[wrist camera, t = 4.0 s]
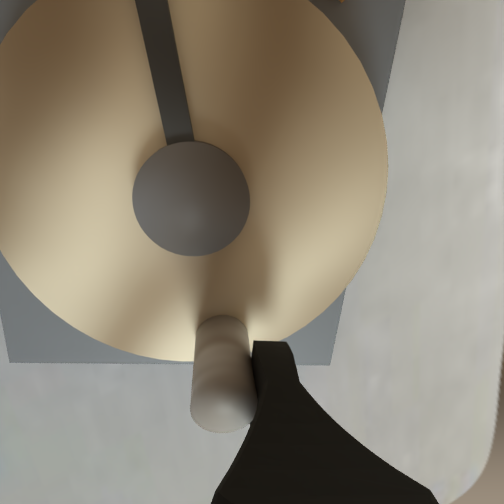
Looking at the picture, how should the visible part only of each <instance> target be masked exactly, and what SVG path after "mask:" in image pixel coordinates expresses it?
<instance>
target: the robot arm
mask: <svg viewBox="0 0 504 504" xmlns="http://www.w3.org/2000/svg"><path fill="white" fill-rule="evenodd" d="M251 360H252V368H253V376H254V382H255V387H256V393H257V398H258V404H257V410H256V413H255V415H254V418H253V420H252V421H251V422H250V428H249V430H248V433H247V435H246V437H245V440H244V442H243V444H242V446H241V448H240V450H239V452H238V453H237V455H236V457H235V459H234V461H233V463H232V465H231V467H230V468H229V470H228V472H227V473H226V475H225V476H224V478H223V480H222V481H221V483H220V484H219V486H218V488H217V489H216V491H215V494H214V496H213V499H212V502H211V504H439V503H438V502H437V500H436V498H435V497H434V495H433V494H432V492H431V491H430V490H429V489H428V488H426V487H424V486H423V485H421V484H420V483H418V482H416V481H415V480H413V479H411V478H410V477H408V476H407V475H405V474H403V473H402V472H400V471H398V470H397V469H395V468H394V467H392V466H391V465H389V464H388V463H387V462H385V461H384V460H382V459H381V458H380V457H378V456H377V455H375V454H374V453H373V452H371V451H370V450H369V449H367V448H366V447H365V446H363V445H362V444H361V443H360V442H358V441H357V440H356V439H355V438H354V437H352V436H351V435H350V434H349V433H348V432H346V431H345V430H344V429H343V428H342V427H341V426H340V425H339V424H338V423H336V422H335V421H334V420H333V419H332V418H331V417H330V416H329V415H328V414H327V413H326V412H325V411H324V410H323V409H322V408H321V407H320V405H319V404H318V403H317V402H316V401H315V400H314V399H313V397H312V396H311V395H310V394H309V393H308V392H307V390H306V389H305V388H304V387H303V385H302V384H301V383H300V382H299V377H298V373H297V368H296V364H295V359H294V355H293V352H292V350H291V348H290V346H289V345H288V343H287V342H285V341H258V340H253V348H252V356H251Z"/></svg>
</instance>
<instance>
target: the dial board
mask: <svg viewBox="0 0 504 504" xmlns="http://www.w3.org/2000/svg"><path fill="white" fill-rule="evenodd" d="M36 1H37V0H0V44H1V43H2V41H3V39H4V37H5V36H6V34H7V33H8V31H9V30H10V29H11V28H12V27H13V25H14V24H15V23H16V22H17V21H18V19H19V18H20V17H21V16H22V14H23V13H24V12H25V11H26V10H27V9H28V8H29V7H30V6H31V5H32V4H33V3H35V2H36ZM308 1H310V2H311V3H312V4H313V5H314V6H315V7H317V8H318V9H319V10H320V11H321V12H323V13H324V15H325V16H326V17H327V18H328V19H329V20H330V21H331V22H332V24H333V25H334V26H335V27H336V28H337V29H338V30H339V32H340V33H341V34H342V35H343V36H344V38H345V39H346V41H347V42H348V44H349V45H350V47H351V48H352V50H353V51H354V53H355V54H356V56H357V57H358V59H359V60H360V62H361V64H362V66H363V68H364V70H365V72H366V74H367V76H368V78H369V80H370V82H371V84H372V87H373V89H374V92H375V95H376V98H377V101H378V104H379V107H380V111H381V114H382V111H383V107H384V102H385V97H386V92H387V87H388V83H389V78H390V73H391V68H392V63H393V58H394V54H395V49H396V44H397V39H398V34H399V29H400V25H401V20H402V15H403V10H404V5H405V1H406V0H308ZM345 290H346V288H345V289H344V290H343V292H342V293H341V294H340V295H339V297H338V298H337V299H336V300H335V301H334V302H333V303H332V304H331V305H330V306H329V307H328V308H327V309H326V310H325V311H324V312H322V313H321V314H320V315H319V316H317V317H316V318H315V319H314V320H312V321H311V322H310V323H308V324H307V325H306V326H304V327H303V328H301V329H300V330H298V331H296V332H295V333H293V334H291V335H290V336H288V337H286V338H284V339H282V340H280V341H285V342H287V343H288V345H289V346H290V348H291V350H292V352H293V355H294V359H295V364H296V365H330V362H331V358H332V353H333V348H334V343H335V338H336V333H337V329H338V324H339V319H340V314H341V309H342V304H343V300H344V295H345ZM0 314H1V320H2V325H3V330H4V335H5V341H6V346H7V351H8V357H9V362H10V363H113V364H194V361H171V360H160V359H155V358H150V357H145V356H140V355H136V354H133V353H130V352H126V351H123V350H120V349H117V348H114V347H112V346H109V345H107V344H105V343H102V342H100V341H98V340H95V339H93V338H92V337H90V336H88V335H86V334H85V333H83V332H81V331H79V330H77V329H76V328H74V327H72V326H71V325H70V324H68V323H67V322H65V321H64V320H63V319H61V318H60V317H59V316H57V315H56V314H54V313H53V312H52V311H51V310H50V309H49V308H48V307H46V306H45V305H44V304H43V303H42V302H41V301H40V300H39V299H38V298H36V297H35V296H34V295H33V293H32V292H31V291H30V290H29V289H28V288H27V287H26V285H25V284H24V283H23V282H22V281H21V280H20V279H19V277H18V276H17V275H16V273H15V272H14V270H13V269H12V268H11V266H10V265H9V263H8V262H7V260H6V259H5V257H4V256H3V254H2V252H1V251H0ZM251 356H252V352H251Z"/></svg>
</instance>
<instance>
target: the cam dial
mask: <svg viewBox="0 0 504 504" xmlns="http://www.w3.org/2000/svg"><path fill="white" fill-rule="evenodd" d="M387 177H388V155H387V140H386V134H385V129H384V124H383V119H382V114H381V111H380V107H379V104H378V101H377V98H376V95H375V92H374V89H373V87H372V84H371V82H370V80H369V78H368V76H367V74H366V72H365V70H364V68H363V66H362V64H361V62H360V60H359V59H358V57H357V56H356V54H355V53H354V51H353V50H352V48H351V47H350V45H349V44H348V42H347V41H346V39H345V38H344V36H343V35H342V34H341V33H340V32H339V30H338V29H337V28H336V27H335V26H334V25H333V24H332V22H331V21H330V20H329V19H328V18H327V17H326V16H325V15H324V13H323V12H321V11H320V10H319V9H318V8H317V7H315V6H314V5H313V4H312V3H311V2H310V1H308V0H37V1H36V2H35V3H33V4H32V5H31V6H30V7H29V8H28V9H27V10H26V11H25V12H24V13H23V14H22V16H21V17H20V18H19V19H18V21H17V22H16V23H15V24H14V25H13V27H12V28H11V29H10V30H9V31H8V33H7V34H6V36H5V37H4V39H3V41H2V43H1V44H0V251H1V252H2V254H3V256H4V257H5V259H6V260H7V262H8V263H9V265H10V266H11V268H12V269H13V270H14V272H15V273H16V275H17V276H18V277H19V279H20V280H21V281H22V282H23V283H24V284H25V285H26V287H27V288H28V289H29V290H30V291H31V292H32V293H33V295H34V296H35V297H36V298H38V299H39V300H40V301H41V302H42V303H43V304H44V305H45V306H46V307H48V308H49V309H50V310H51V311H52V312H53V313H54V314H56V315H57V316H59V317H60V318H61V319H63V320H64V321H65V322H67V323H68V324H70V325H71V326H72V327H74V328H76V329H77V330H79V331H81V332H83V333H85V334H86V335H88V336H90V337H92V338H93V339H95V340H98V341H100V342H102V343H105V344H107V345H109V346H112V347H114V348H117V349H120V350H123V351H126V352H130V353H133V354H136V355H140V356H145V357H150V358H155V359H160V360H171V361H194V365H193V378H192V391H191V405H190V412H191V416H192V418H193V420H194V421H195V422H196V424H198V425H199V426H200V427H201V428H203V429H205V430H207V431H210V432H215V433H230V432H234V431H237V430H240V429H242V428H244V427H245V426H247V425H248V424H249V423H250V422H251V421H252V420H253V418H254V415H255V413H256V410H257V404H258V398H257V393H256V387H255V382H254V376H253V368H252V360H251V352H252V348H253V340H258V341H280V340H282V339H284V338H286V337H288V336H290V335H291V334H293V333H295V332H296V331H298V330H300V329H301V328H303V327H304V326H306V325H307V324H308V323H310V322H311V321H312V320H314V319H315V318H316V317H317V316H319V315H320V314H321V313H322V312H324V311H325V310H326V309H327V308H328V307H329V306H330V305H331V304H332V303H333V302H334V301H335V300H336V299H337V298H338V297H339V295H340V294H341V293H342V292H343V290H344V289H345V288H346V287H347V285H348V284H349V283H350V282H351V280H352V279H353V277H354V276H355V274H356V273H357V271H358V269H359V268H360V266H361V265H362V263H363V261H364V260H365V258H366V255H367V253H368V251H369V249H370V247H371V245H372V243H373V241H374V238H375V235H376V232H377V229H378V226H379V223H380V220H381V217H382V212H383V207H384V202H385V197H386V191H387Z"/></svg>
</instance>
